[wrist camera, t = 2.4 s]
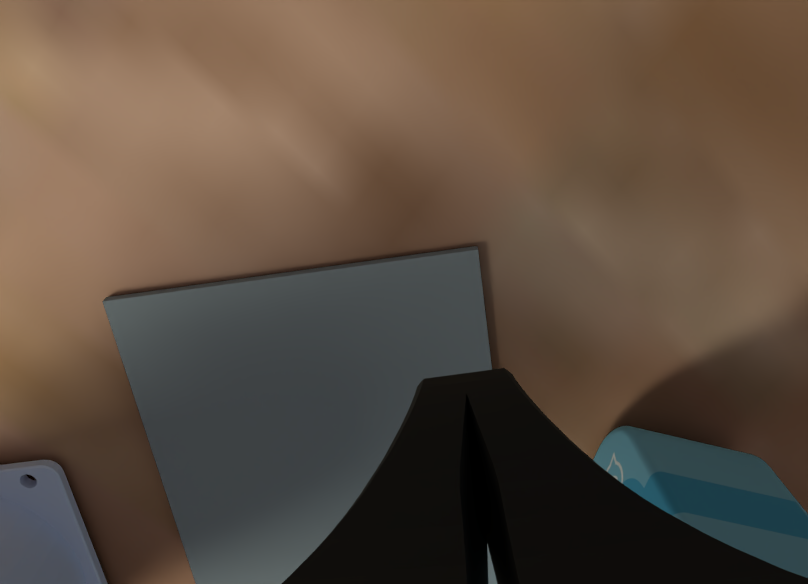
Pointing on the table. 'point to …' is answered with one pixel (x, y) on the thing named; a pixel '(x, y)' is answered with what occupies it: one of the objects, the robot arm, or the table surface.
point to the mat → (289, 395)
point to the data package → (712, 492)
